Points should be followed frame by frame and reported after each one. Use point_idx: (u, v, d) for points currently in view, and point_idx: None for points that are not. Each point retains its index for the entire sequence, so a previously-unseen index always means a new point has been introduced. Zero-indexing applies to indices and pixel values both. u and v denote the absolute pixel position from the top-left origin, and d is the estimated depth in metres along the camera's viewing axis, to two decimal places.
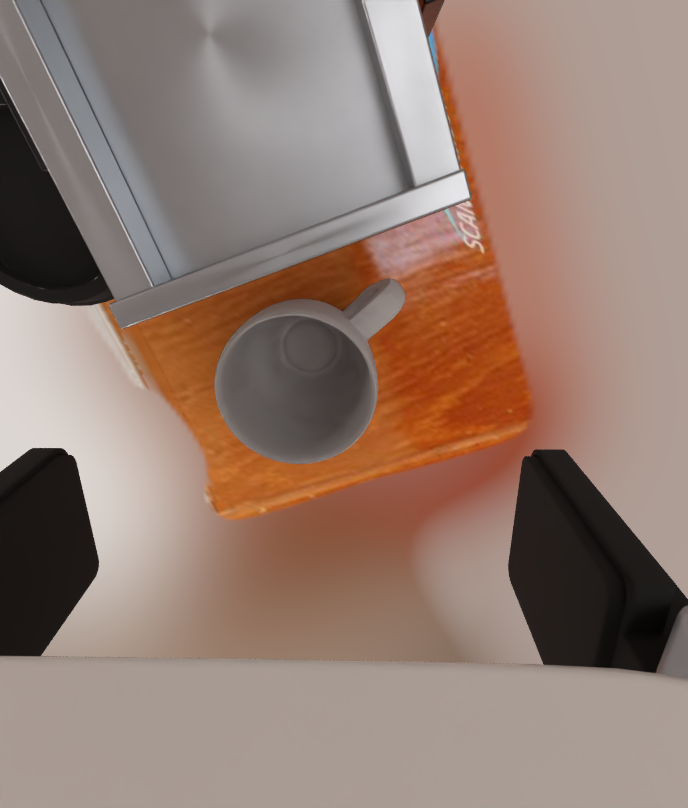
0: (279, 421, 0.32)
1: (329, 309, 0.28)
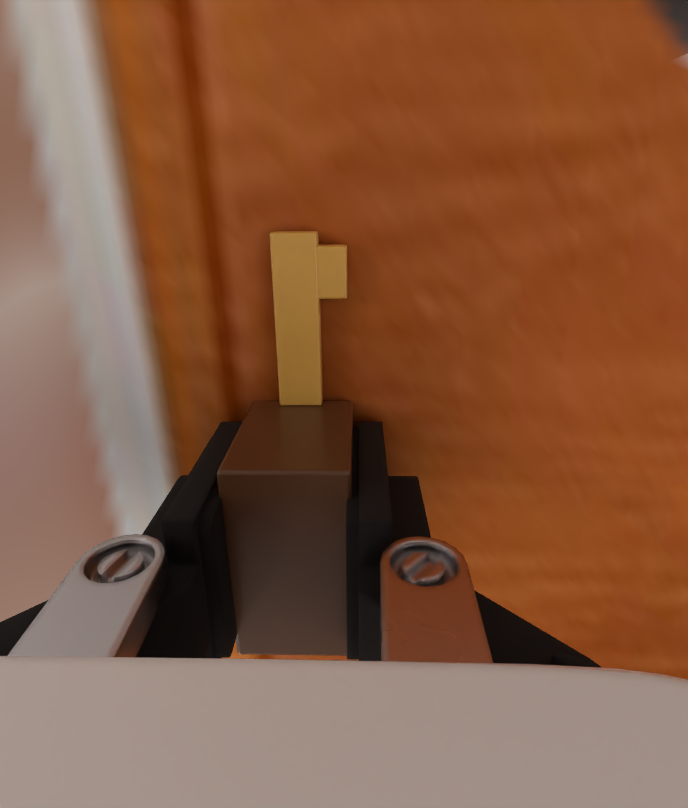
0: None
1: None
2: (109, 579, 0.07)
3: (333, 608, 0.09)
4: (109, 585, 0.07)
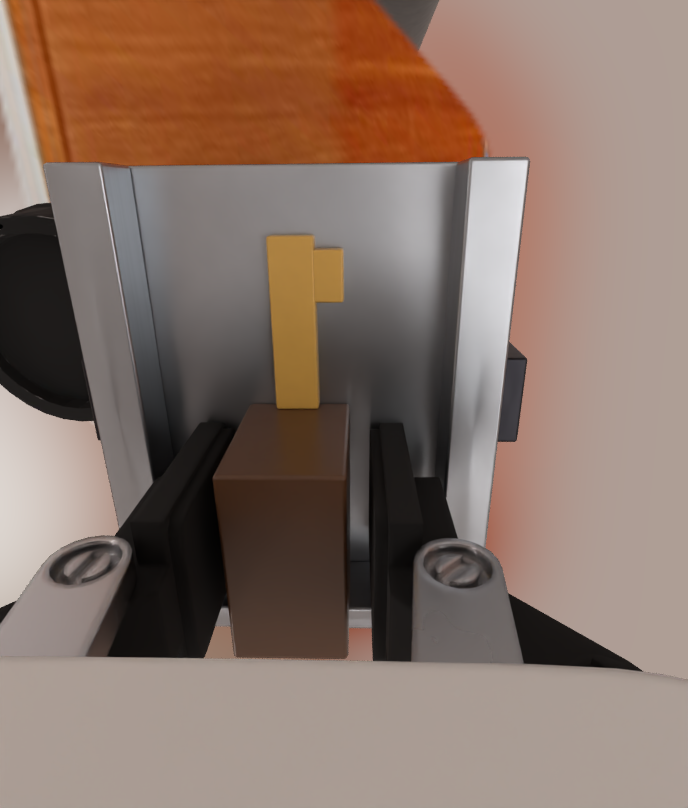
0: None
1: None
2: (76, 581, 0.07)
3: (329, 612, 0.09)
4: (77, 586, 0.07)
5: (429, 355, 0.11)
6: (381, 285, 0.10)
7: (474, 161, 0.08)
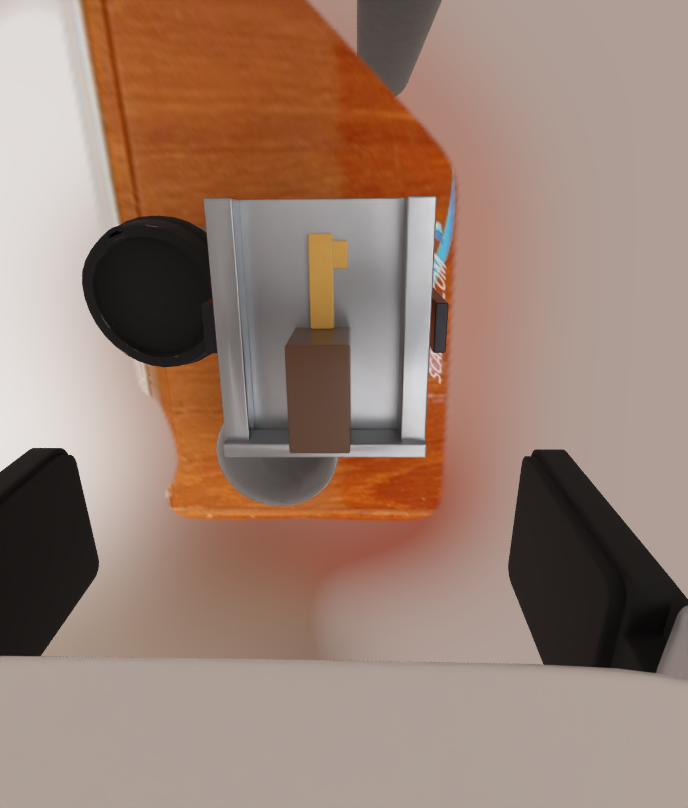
0: (252, 461, 0.41)
1: None
2: None
3: (340, 423, 0.18)
4: None
5: (394, 300, 0.20)
6: (367, 261, 0.19)
7: (410, 197, 0.17)
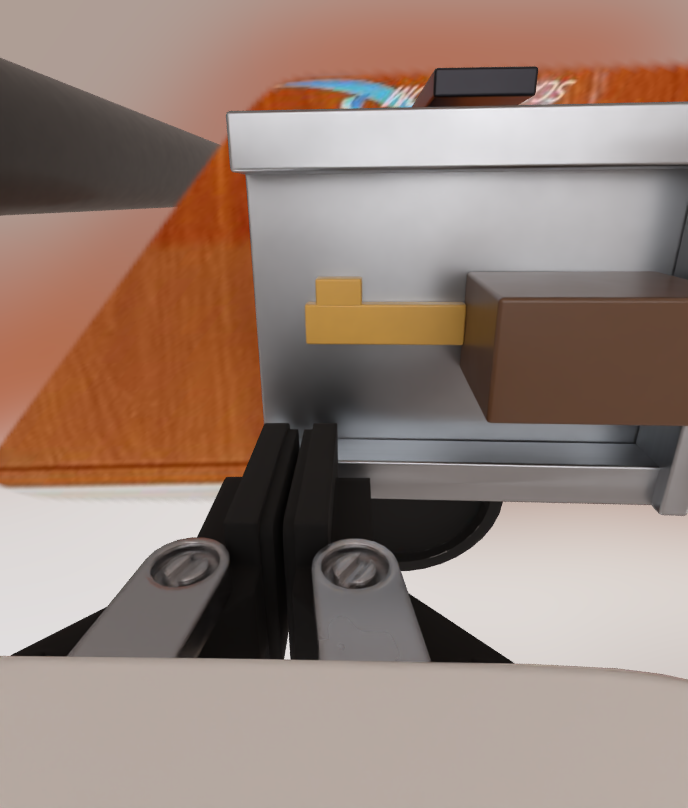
0: None
1: None
2: (174, 582, 0.07)
3: (678, 319, 0.08)
4: (173, 589, 0.07)
5: (423, 187, 0.10)
6: (352, 241, 0.11)
7: (232, 167, 0.09)
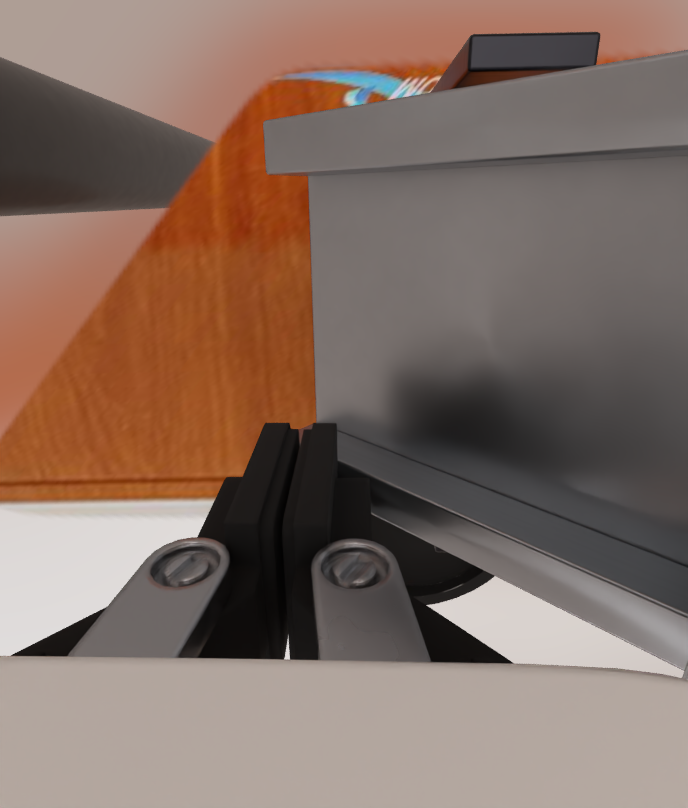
0: None
1: None
2: (174, 582, 0.07)
3: None
4: (173, 589, 0.07)
5: (447, 185, 0.09)
6: (383, 242, 0.11)
7: None
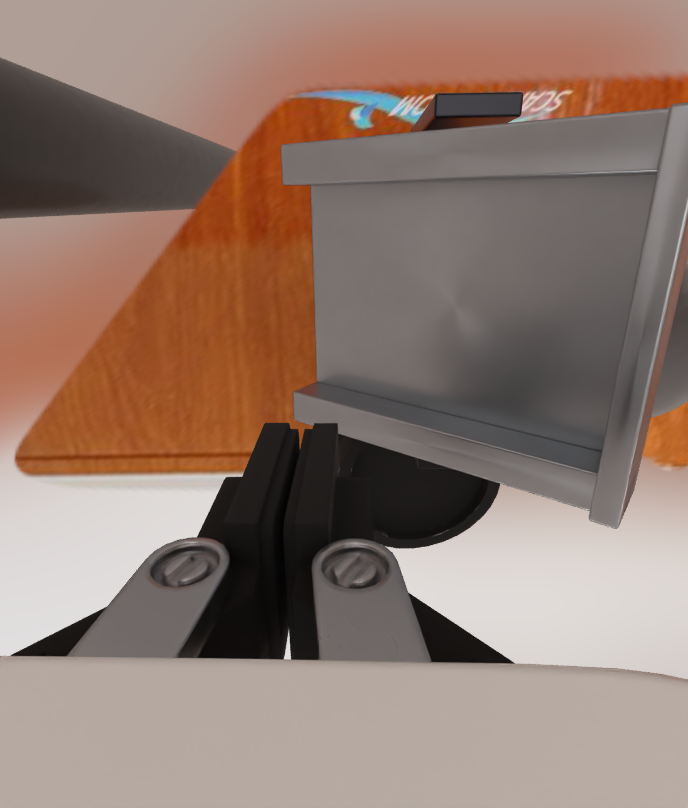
0: None
1: None
2: (174, 582, 0.07)
3: None
4: (172, 589, 0.07)
5: (422, 194, 0.13)
6: (373, 236, 0.14)
7: None
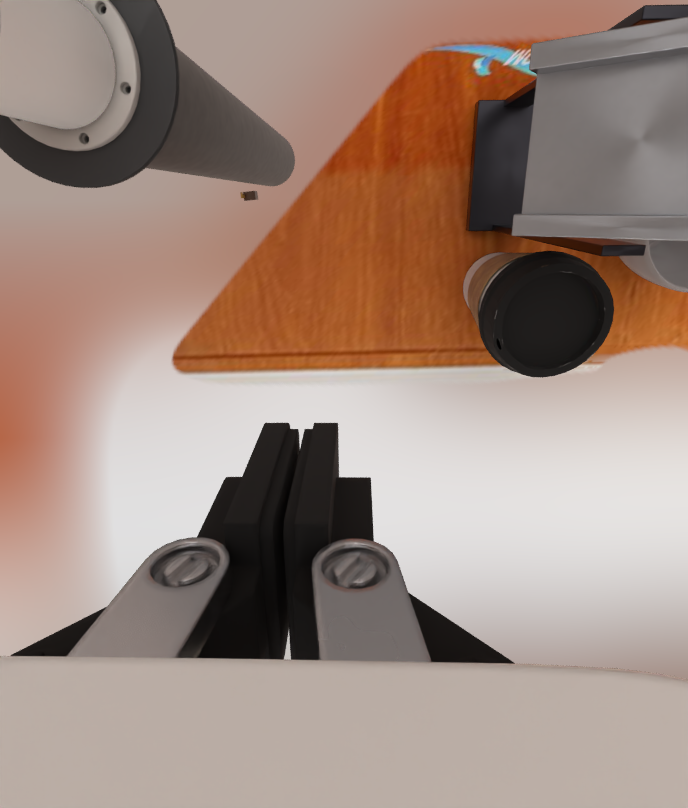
0: None
1: None
2: (174, 582, 0.07)
3: (256, 192, 1.40)
4: (173, 589, 0.07)
5: (623, 70, 0.22)
6: (583, 102, 0.23)
7: (529, 67, 0.23)
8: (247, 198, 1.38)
